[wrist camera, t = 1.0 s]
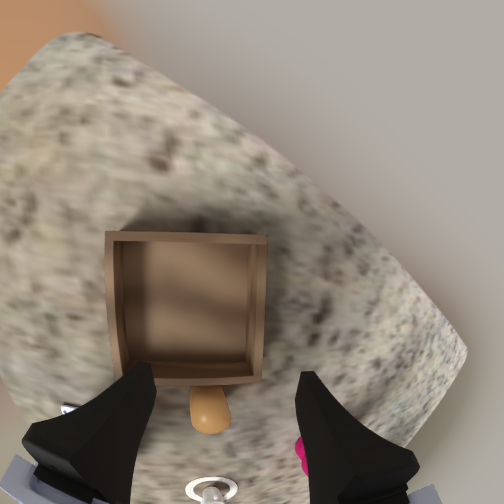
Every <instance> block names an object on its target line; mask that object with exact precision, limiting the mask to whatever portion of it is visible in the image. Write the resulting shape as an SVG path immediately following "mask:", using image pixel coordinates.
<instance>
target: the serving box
mask: <svg viewBox="0 0 504 504" xmlns="http://www.w3.org/2000/svg"><path fill="white" fill-rule="evenodd" d="M267 245H268V235H251V234H222V233H189V232H145V231H105V290H106V307H107V320H108V330H109V339H110V347H111V355H112V361H113V368H114V374H115V380H116V381H117V380H118V379H119V378H121V377H122V376H123V375H124V374H125V373H126V372H127V371H128V370H129V369H131V368H132V367H133V366H134V365H135V364H136V363H137V362H138V361H142V362H148V363H151V368H152V373H153V378H154V382H155V385H159V386H208V385H230V384H244V383H256V382H261V380H262V362H263V342H264V321H265V298H266V273H267Z"/></svg>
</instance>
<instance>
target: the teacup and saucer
mask: <svg viewBox="0 0 504 504" xmlns="http://www.w3.org/2000/svg"><path fill="white" fill-rule="evenodd" d="M210 480H216V481H222V482H225V483H227V484H228V485H229V486H230V491H229V493H228V494H226V495H225V496H223V497H222V494H221V492H220V491H219V489H218V488H216V487H213V486H210V487H206V488H205V489H204V491H203V498H202V497H199V496H197V495H196V494H195V493H194V492H193V488H194V486H195V485H197V484H198V483H200V482H204V481H210ZM237 489H238V487H237V484H236V483H235V482H234V481H232V480H230V479H227V478H224V477H216V476H211V477H202V478H198V479H196V480H193V481H191V482H190V483H189V484H188V485H187V486H186V489H185V490H186V493H187V495H188V496H189V497H191V498H192V499H194V500H197V501H201V504H225V503H224V500H226V499H229V498H231V497H232V496H233V495H235V493H236V492H237Z"/></svg>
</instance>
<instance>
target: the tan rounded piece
mask: <svg viewBox="0 0 504 504" xmlns="http://www.w3.org/2000/svg"><path fill="white" fill-rule="evenodd" d="M189 400H190V413H191V422H192V425H193V426H194V428H196V429H197V430H198V431H200V432H203V433H207V434H215V433H219V432H222V431H224V430H225V429H226V428H227V427H228V426H229V425H230V423H231V414H230V411H229V408H228V404H227V401H226V398H225V394H224V391H223V389H222V387H221V386H220V385H208V386H192V387H191V389H190V391H189Z"/></svg>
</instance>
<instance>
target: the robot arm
mask: <svg viewBox="0 0 504 504" xmlns="http://www.w3.org/2000/svg"><path fill="white" fill-rule="evenodd" d="M156 392H157V391H156V386H155V382H154V378H153V373H152V368H151V363H148V362H142V361H138V362H137V363H136V364H135V365H134V366H133V367H132V368H131V369H129V370H128V371H127V372H126V373H125V374H124V375H123V376H122V377H121V378H119V379H118V380H117V381H116V382H115V383H114V384H113V385H111V386H110V387H109V388H108V389H106V390H105V391H104V392H102V393H101V394H100V395H98V396H97V397H95V398H94V399H92V400H91V401H89V402H88V403H86V404H84V405H82V406H81V407H73V406H68V405H62V406H61V410H62V413H63V415H61V416H58V417H55V418H52V419H49V420H45V421H41V422H36V423H32V425H31V426H30V428H29V429H28V431H27V432H26V434H25V436H24V437H23V439H22V444H23V446H24V448H25V449H26V450H27V451H28V452H29V454H30V455H31V456H32V457H33V458H34V459H35V460H36V461H35V463H34V464H31V463H30V462H28V461H26V460H25V459H23V458H22V457H20V456H19V455H17V454H15V456H14V457H13V459H12V461H11V463H10V464H9V466H8V468H7V470H6V471H5V473H4V475H3V477H2V479H1V481H0V488H1V489H2V490H3V491H4V492H6V493H7V494H8V495H9V496H11V497H12V498H13V499H15V500H16V501H17V502H19V503H20V504H130V496H131V486H132V478H133V472H134V467H135V461H136V457H137V452H138V448H139V444H140V441H141V439H142V436H143V433H144V431H145V428H146V425H147V423H148V420H149V417H150V415H151V412H152V409H153V406H154V401H155V397H156ZM295 406H296V415H297V421H298V425H299V429H300V433H301V437H302V441H303V445H304V449H305V454H306V459H307V468H308V478H309V491H310V504H442V502H441V500H440V498H439V496H438V493H437V491H436V489H435V487H434V485H433V484H431V485H429V486H427V487H424V488H422V489H420V490H417V491H415V492H413V493H411V494H409V495H408V496H407V493H406V491H407V490H408V486H407V484H406V483H407V482H408V481H409V480H410V479H411V478H412V477H413V476H414V475H415V474H416V473H417V472H418V470H419V468H420V466H419V463H418V461H417V459H416V457H415V455H414V453H413V452H412V451H410V450H408V449H405V448H403V447H400V446H398V445H396V444H393V443H392V442H390V441H388V440H386V439H384V438H382V437H380V436H379V435H377V434H376V433H374V432H373V431H371V430H369V429H368V428H367V427H365V426H364V425H363V424H361V423H360V422H359V421H358V420H356V419H355V418H354V417H353V416H352V415H351V414H350V413H349V412H348V411H347V410H346V409H345V408H344V407H343V406H342V405H341V404H340V403H339V402H338V401H337V400H336V399H335V397H334V396H333V395H332V394H331V393H330V392H329V390H328V389H327V388H326V387H325V385H324V384H323V383H322V381H321V380H320V379H319V377H318V376H317V375H316V373H315V372H314V371H303V372H301V375H300V379H299V384H298V388H297V393H296V397H295ZM65 411H66V412H65Z"/></svg>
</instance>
